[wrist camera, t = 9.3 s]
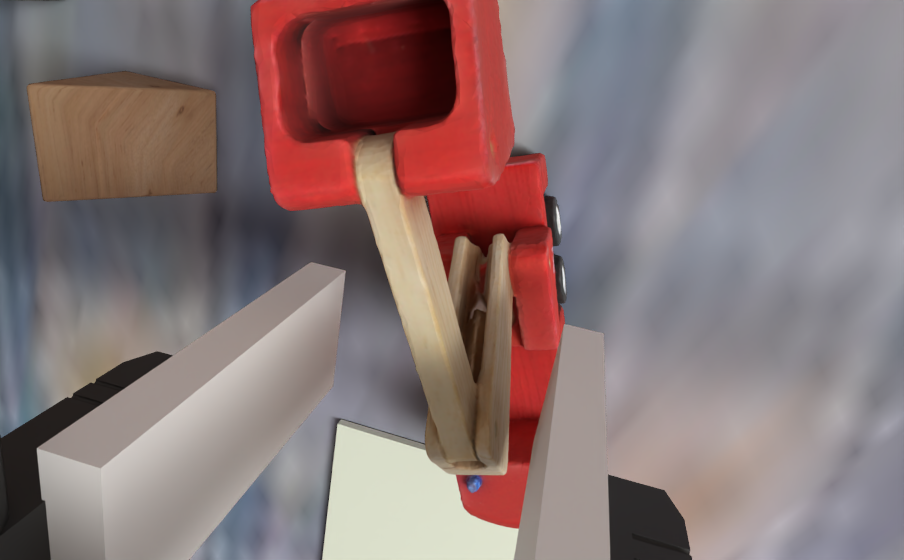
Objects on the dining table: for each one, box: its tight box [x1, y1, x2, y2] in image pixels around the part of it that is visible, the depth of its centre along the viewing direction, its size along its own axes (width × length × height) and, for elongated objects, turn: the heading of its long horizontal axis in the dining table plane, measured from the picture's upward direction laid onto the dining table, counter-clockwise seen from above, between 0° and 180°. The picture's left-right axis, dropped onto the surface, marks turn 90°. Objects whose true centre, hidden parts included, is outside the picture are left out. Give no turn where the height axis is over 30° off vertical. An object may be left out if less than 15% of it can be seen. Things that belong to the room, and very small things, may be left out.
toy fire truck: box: [251, 0, 567, 529], centre depth 14 cm, size 3×14×10 cm, turn 10°
